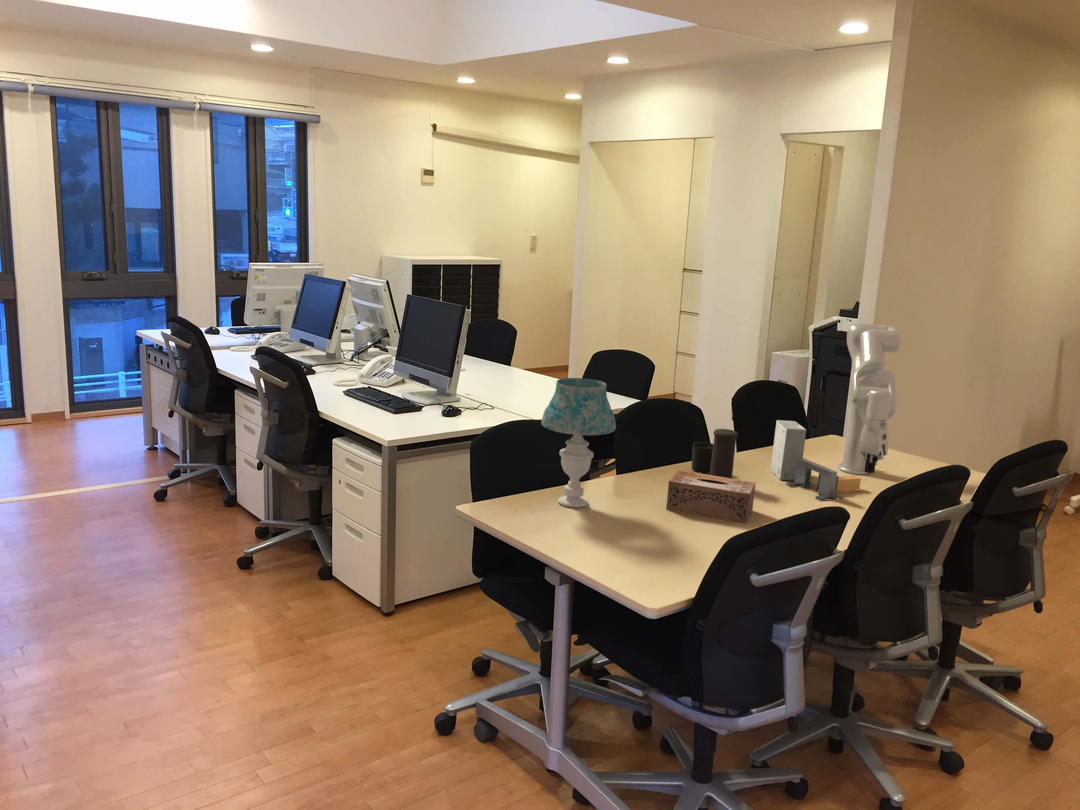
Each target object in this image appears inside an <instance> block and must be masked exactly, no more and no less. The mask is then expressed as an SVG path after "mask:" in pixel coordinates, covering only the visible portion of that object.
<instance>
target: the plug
mask: <svg viewBox="0 0 1080 810" xmlns="http://www.w3.org/2000/svg"><path fill="white" fill-rule="evenodd" d="M820 475H821V474H820V473H818V478H817V487H816V490H817V489H818V490H819V482H820ZM861 479H862V478H861V477H858V476H856V475H845V476H838V475H837V477H836V484H835V492H834V493H838V492H837V491H840V492H849V491H848V490H853V491H858V490H857V489H859V490H860V487H861V481H862V480H861ZM818 490H817V491H818ZM846 490H847V491H846Z"/></svg>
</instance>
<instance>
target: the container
mask: <svg viewBox="0 0 1080 810" xmlns="http://www.w3.org/2000/svg"><path fill="white" fill-rule="evenodd" d="M713 435H714V437H713V443H712V444H713V452H712V460H711V468H710V473H709V475H713V476H719V477H725V478H732V479H733V471H734V461H735V452H736V444H737V438H738V436H739V434H738V432H737V431H735V430H733V429H728V428H716V429H714V431H713Z"/></svg>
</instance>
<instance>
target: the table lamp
mask: <svg viewBox="0 0 1080 810" xmlns="http://www.w3.org/2000/svg"><path fill="white" fill-rule="evenodd" d="M607 387H608V386H607V383H606V382H604V381H602V380H597V379H591V378H580V377H567V378H566V377H565V378H559V379H557V380H556V382H555V390H554V394H553V396H552V397H551V399H550V400H549V403H548V405H547V406H546V407H545V409H544V411H543V414H542V417H541V425H542V427H544V428H545V429H547V430H549V431H552V432H555V433H556V432H557V433H561V434H566V435H573V436H572V437H571V438H570V439H567V440H565V445H567V446H565V448H561V449H560V450H559V456H560V464H561V468H562V470H563V472H564V473H565V474H566V475H568V478H569V480H568V483H567V484H566V485H564V488H563V489H564V490H563V493H564V495H563V496H560V497H559V498H558V500H557V502H558V503H559V504H560V505H561V506H564V507H567V508H574V509H575V508H583V507H586V506H587V505H589V501H588V499H587V498H585V497H583V496H584V489H585V488H584V486H583V485H581V484H582V483H581V482H580V479H581V478H582V477H583V476H585V475H586V474H587V472H589V470H590V467H591V462H592V459H594V452H593V451H592V450H590V449H589V448H588V447H589V445H590V442H589V441H587V440H585V439H584V436H601V435H607V434H608V435H609V434H611V433H613V432H615V431H616V430H617V422H616V417H615V413H614V411H613V409H612V407H611V404H610V402H609V399H608V393H607V390H608V389H607Z"/></svg>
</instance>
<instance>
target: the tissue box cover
mask: <svg viewBox="0 0 1080 810" xmlns="http://www.w3.org/2000/svg"><path fill="white" fill-rule="evenodd" d="M756 484H757V483H756V482H754V481H750V480H744V479H738V478H733V477H732V478H725V477H719V476H713V475H710V474H707V473H698V472H695V471H686V470H679V469H678V470H676V472H675V473H674V474H673V476H672V477H671V478H670V479H669V480H668V486H667V500H666V508H665V509H666V510H665V511H673V512H678V513H684V514H688V515H689V514H690V515H695V516H701V517H707V518H711V519H717V520H724V521H727V522H728V521H731V522H734V523H735V522H736V523H739V524H740V523H741V524H748V521H749V518H750V517H751V514H752V512H753V508H754V502H755V501H754V499H755V491H756Z"/></svg>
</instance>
